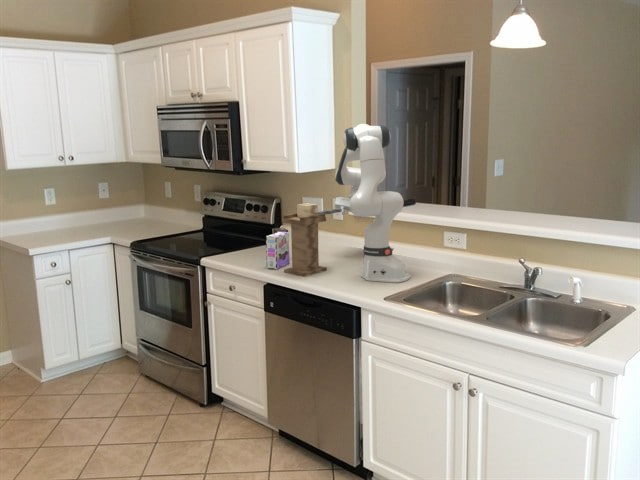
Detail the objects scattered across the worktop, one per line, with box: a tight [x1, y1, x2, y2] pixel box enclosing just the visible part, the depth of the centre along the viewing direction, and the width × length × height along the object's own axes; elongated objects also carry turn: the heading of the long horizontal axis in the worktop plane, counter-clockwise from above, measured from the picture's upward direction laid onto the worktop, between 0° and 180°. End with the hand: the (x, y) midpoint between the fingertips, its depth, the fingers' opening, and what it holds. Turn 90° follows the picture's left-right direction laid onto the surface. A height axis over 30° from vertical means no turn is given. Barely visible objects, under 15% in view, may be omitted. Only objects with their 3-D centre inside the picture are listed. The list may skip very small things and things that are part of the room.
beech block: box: [296, 202, 342, 217], centre depth 287 cm, size 26×8×6 cm, turn 137°
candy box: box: [265, 231, 291, 270], centre depth 293 cm, size 14×6×16 cm, turn 155°
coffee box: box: [271, 227, 289, 234], centre depth 309 cm, size 9×6×16 cm
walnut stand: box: [282, 212, 328, 278], centre depth 281 cm, size 16×13×28 cm
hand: (352, 215), depth 300 cm, fingers open, 8 cm apart
